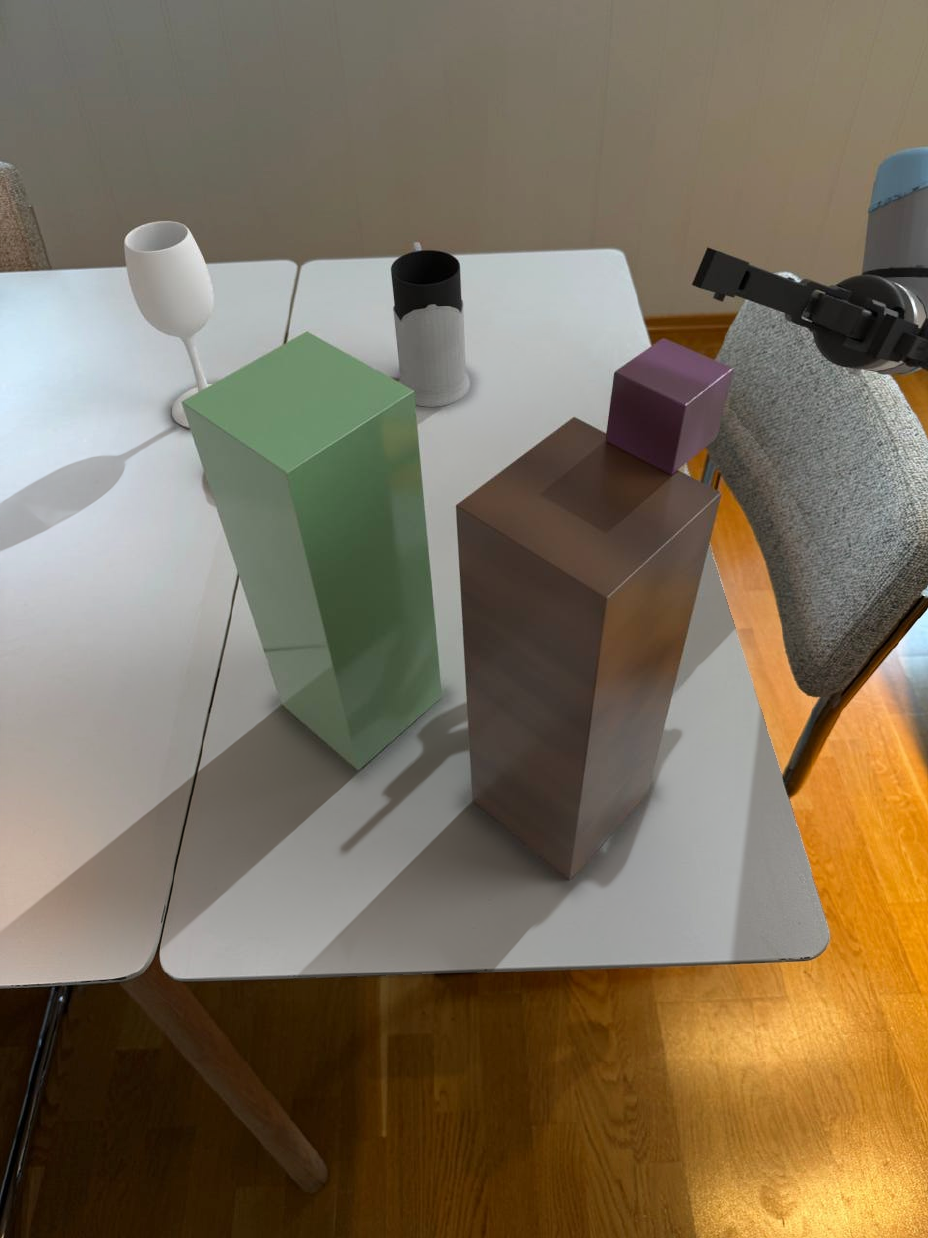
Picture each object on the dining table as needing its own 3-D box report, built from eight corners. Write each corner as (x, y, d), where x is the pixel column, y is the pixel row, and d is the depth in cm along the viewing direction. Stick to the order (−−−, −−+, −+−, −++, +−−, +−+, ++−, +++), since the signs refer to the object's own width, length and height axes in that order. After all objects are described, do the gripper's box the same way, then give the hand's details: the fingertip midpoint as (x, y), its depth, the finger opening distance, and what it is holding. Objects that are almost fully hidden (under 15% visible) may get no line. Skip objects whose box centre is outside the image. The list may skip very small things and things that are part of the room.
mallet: (685, 405, 45) (734, 367, 47) (613, 371, 47) (663, 336, 49) (643, 612, 57) (684, 574, 59) (586, 577, 59) (628, 542, 61)
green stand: (358, 771, 74) (286, 473, 50) (281, 704, 79) (180, 401, 54) (442, 697, 79) (414, 390, 54) (365, 638, 83) (306, 330, 59)
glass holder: (402, 411, 105) (389, 292, 94) (388, 343, 114) (375, 228, 103) (475, 401, 106) (472, 282, 94) (456, 335, 115) (451, 220, 103)
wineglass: (189, 382, 110) (135, 213, 94) (256, 388, 109) (213, 218, 93) (160, 426, 105) (97, 254, 89) (229, 433, 103) (179, 260, 87)
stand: (569, 881, 67) (606, 598, 43) (471, 801, 72) (455, 504, 47) (648, 793, 72) (722, 492, 47) (551, 723, 76) (573, 415, 52)
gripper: (986, 423, 74) (934, 424, 58) (726, 317, 86) (620, 293, 69) (1040, 334, 71) (1000, 308, 54) (762, 236, 82) (660, 190, 66)
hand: (787, 299), depth 62 cm, fingers open, 13 cm apart
